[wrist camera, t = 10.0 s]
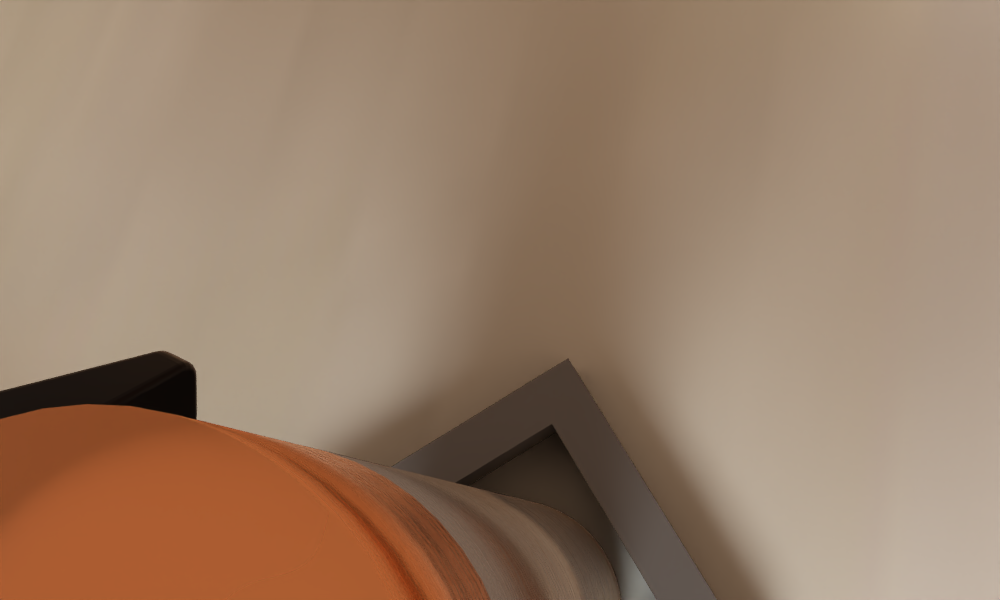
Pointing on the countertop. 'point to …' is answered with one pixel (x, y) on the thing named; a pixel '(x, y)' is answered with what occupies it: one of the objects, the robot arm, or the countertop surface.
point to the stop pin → (260, 520)
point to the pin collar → (598, 456)
